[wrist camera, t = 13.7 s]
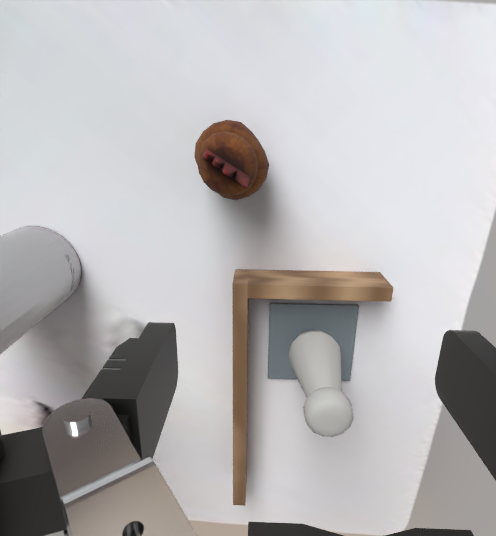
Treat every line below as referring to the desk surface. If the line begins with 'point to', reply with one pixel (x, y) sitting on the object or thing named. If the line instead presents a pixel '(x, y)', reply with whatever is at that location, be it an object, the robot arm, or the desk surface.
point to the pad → (303, 319)
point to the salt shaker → (321, 382)
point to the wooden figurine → (231, 160)
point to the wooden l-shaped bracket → (283, 287)
